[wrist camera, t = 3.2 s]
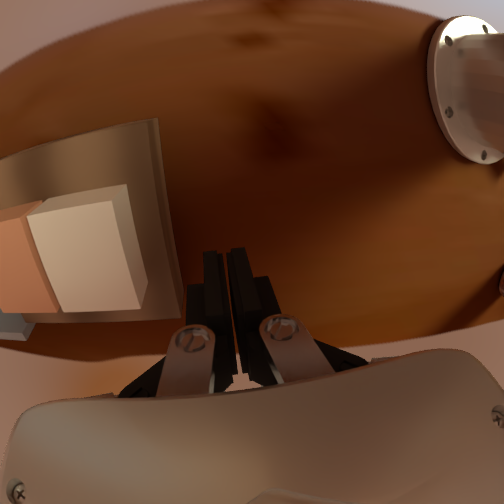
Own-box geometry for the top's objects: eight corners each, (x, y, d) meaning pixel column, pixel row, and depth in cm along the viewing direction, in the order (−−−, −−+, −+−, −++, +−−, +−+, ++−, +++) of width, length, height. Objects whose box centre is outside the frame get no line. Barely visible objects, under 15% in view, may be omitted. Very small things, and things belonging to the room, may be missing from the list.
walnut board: (158, 117, 15) (146, 121, 13) (184, 290, 21) (181, 318, 18) (-6, 161, 14) (-31, 173, 11) (39, 299, 20) (25, 322, 17)
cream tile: (126, 183, 14) (111, 200, 12) (148, 281, 17) (140, 309, 15) (48, 198, 13) (26, 216, 11) (77, 287, 16) (63, 312, 14)
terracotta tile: (41, 200, 13) (19, 217, 11) (70, 287, 16) (57, 312, 14) (-12, 213, 13) (-33, 230, 11) (18, 291, 16) (3, 312, 14)
